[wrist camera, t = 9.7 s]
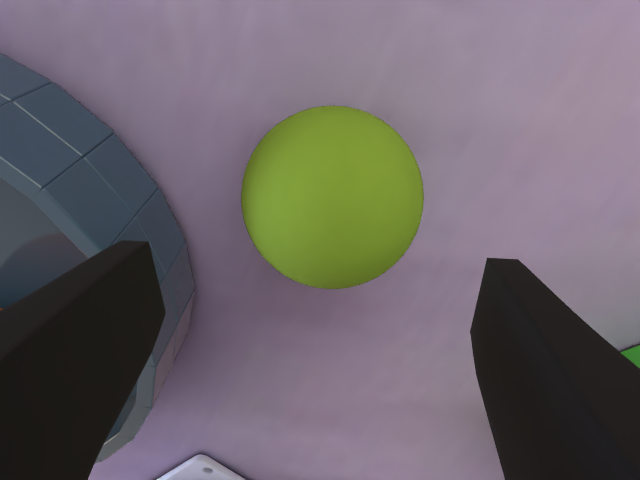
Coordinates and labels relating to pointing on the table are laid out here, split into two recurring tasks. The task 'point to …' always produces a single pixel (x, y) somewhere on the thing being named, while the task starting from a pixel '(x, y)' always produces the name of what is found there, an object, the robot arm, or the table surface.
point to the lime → (332, 197)
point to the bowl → (83, 216)
